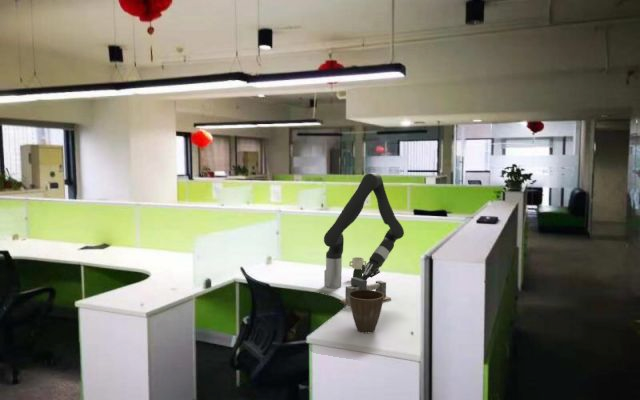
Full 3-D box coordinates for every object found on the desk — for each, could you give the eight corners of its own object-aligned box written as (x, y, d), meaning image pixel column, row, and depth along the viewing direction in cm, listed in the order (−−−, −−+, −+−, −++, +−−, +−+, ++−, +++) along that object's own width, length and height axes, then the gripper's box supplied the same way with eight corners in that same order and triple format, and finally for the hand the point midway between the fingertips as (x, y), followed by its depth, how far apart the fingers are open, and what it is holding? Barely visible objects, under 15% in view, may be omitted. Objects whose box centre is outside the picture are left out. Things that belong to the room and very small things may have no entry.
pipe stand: (375, 295, 265) (376, 279, 264) (391, 300, 255) (391, 283, 255) (340, 302, 250) (340, 285, 250) (355, 307, 241) (355, 290, 240)
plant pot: (380, 338, 199) (380, 300, 198) (345, 334, 203) (345, 297, 202) (385, 326, 214) (385, 291, 212) (352, 323, 218) (353, 288, 216)
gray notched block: (355, 293, 254) (355, 277, 253) (366, 297, 247) (366, 280, 246) (351, 294, 252) (351, 277, 252) (362, 298, 245) (362, 281, 244)
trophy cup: (364, 277, 307) (364, 257, 306) (367, 279, 300) (367, 259, 299) (348, 277, 305) (348, 257, 304) (350, 280, 298) (350, 259, 297)
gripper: (367, 250, 260) (349, 275, 254) (384, 253, 249) (366, 280, 243) (374, 258, 264) (357, 283, 257) (391, 262, 253) (374, 288, 247)
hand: (361, 281), depth 250 cm, fingers closed
